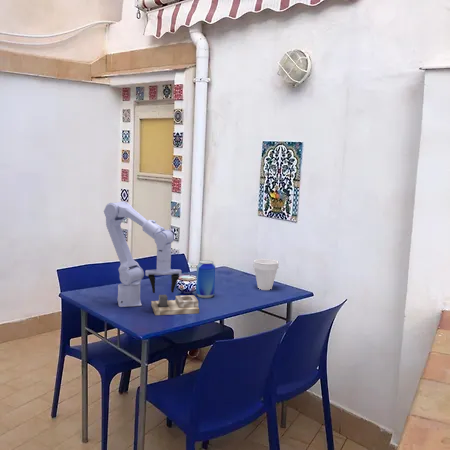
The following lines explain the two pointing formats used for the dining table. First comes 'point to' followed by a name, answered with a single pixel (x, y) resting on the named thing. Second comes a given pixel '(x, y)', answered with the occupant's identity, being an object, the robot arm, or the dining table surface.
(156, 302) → the beige stepped block
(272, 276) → the cup
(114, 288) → the dining table surface
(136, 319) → the dining table surface
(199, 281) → the beer can
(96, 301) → the dining table surface
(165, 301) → the plug
